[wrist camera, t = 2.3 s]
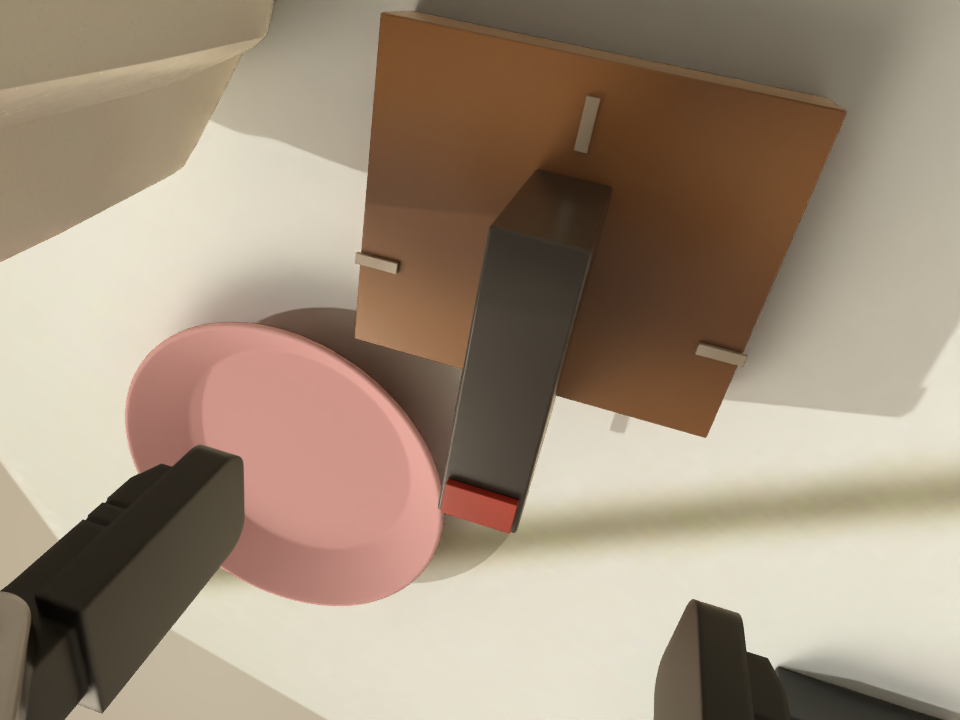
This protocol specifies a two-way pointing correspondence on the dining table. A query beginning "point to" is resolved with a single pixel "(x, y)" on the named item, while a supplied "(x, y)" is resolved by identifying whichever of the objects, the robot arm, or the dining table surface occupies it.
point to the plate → (295, 459)
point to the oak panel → (595, 158)
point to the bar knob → (519, 344)
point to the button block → (836, 702)
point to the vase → (106, 100)
